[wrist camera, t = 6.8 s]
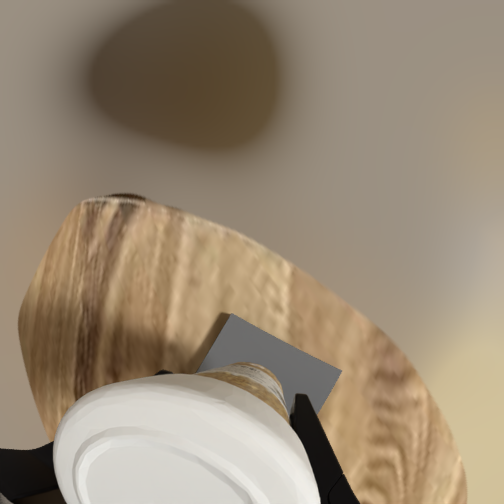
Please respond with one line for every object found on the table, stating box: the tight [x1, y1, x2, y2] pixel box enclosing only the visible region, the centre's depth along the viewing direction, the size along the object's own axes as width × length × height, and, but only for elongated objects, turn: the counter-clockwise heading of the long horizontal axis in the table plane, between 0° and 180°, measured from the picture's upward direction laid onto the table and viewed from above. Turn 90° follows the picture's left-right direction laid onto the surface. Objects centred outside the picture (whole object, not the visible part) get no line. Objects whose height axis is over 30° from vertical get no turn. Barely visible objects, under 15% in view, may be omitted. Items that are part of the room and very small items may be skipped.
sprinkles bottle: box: [53, 362, 320, 504], centre depth 8 cm, size 5×5×13 cm
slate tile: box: [196, 314, 342, 417], centre depth 20 cm, size 8×10×1 cm
